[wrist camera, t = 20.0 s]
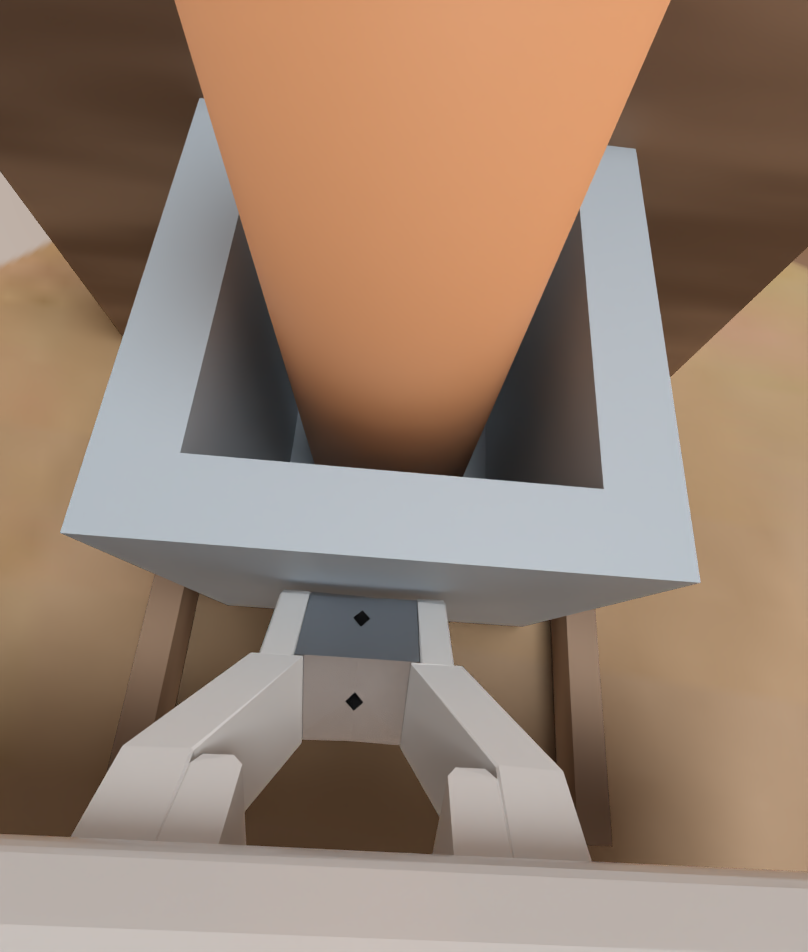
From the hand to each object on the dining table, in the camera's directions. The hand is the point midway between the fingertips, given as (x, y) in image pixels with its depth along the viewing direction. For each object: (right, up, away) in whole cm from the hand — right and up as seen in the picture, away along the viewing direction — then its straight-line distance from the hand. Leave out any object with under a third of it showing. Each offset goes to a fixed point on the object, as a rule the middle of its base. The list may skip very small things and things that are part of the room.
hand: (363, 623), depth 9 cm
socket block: (0, +3, +6) cm, 7 cm away
